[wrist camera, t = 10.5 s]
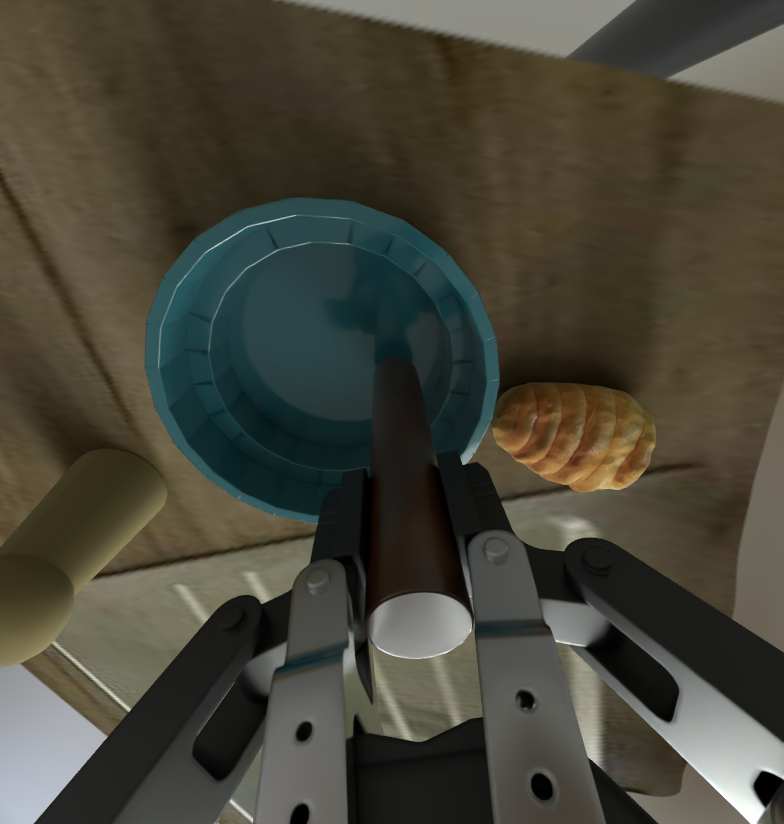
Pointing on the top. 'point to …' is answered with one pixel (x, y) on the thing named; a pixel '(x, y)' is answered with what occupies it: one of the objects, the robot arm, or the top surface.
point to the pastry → (576, 433)
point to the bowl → (311, 347)
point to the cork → (70, 545)
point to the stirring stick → (409, 528)
